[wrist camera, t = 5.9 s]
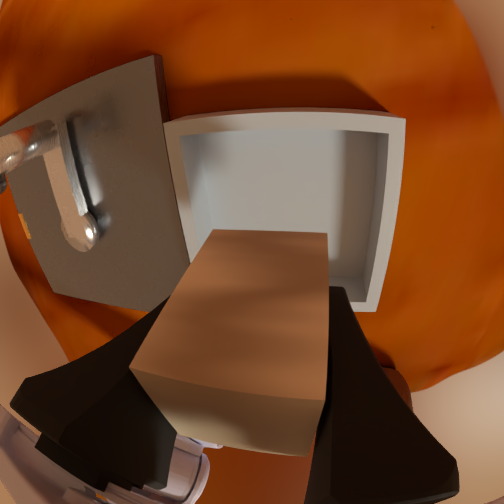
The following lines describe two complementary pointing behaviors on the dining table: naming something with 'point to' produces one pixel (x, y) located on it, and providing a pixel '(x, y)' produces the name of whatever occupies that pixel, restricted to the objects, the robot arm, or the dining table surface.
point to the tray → (295, 182)
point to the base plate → (108, 189)
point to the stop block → (244, 342)
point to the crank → (53, 176)
